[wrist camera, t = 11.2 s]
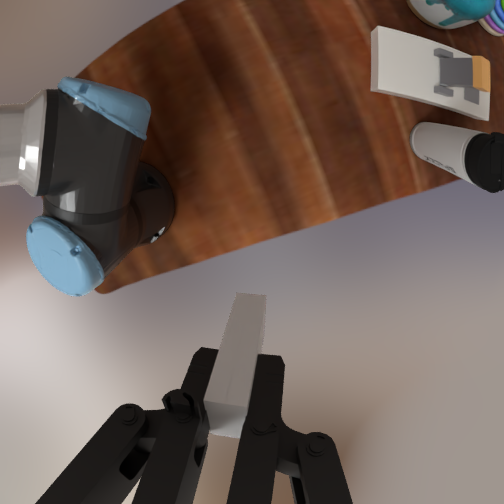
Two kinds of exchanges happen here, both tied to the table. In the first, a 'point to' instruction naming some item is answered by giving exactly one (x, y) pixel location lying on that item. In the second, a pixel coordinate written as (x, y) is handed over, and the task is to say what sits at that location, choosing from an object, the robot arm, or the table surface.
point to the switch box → (420, 73)
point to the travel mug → (462, 153)
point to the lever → (465, 73)
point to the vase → (450, 11)
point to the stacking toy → (494, 20)
